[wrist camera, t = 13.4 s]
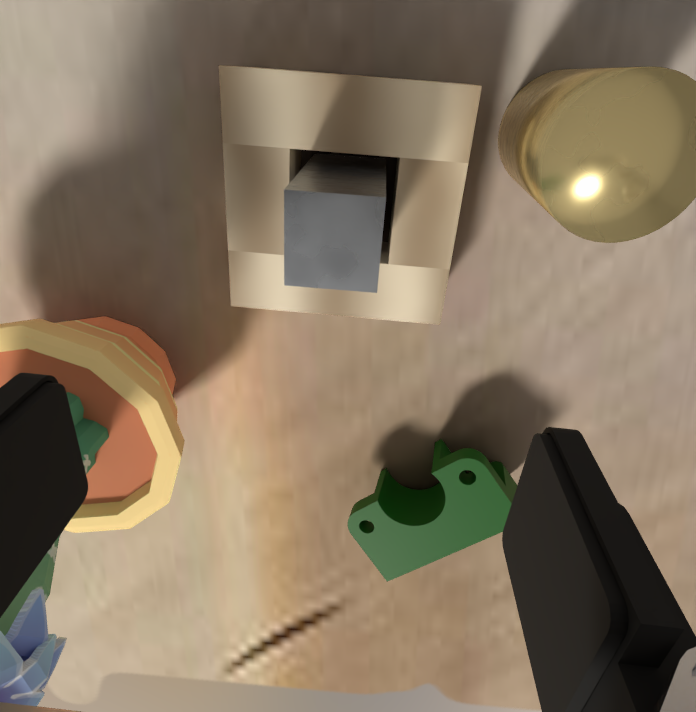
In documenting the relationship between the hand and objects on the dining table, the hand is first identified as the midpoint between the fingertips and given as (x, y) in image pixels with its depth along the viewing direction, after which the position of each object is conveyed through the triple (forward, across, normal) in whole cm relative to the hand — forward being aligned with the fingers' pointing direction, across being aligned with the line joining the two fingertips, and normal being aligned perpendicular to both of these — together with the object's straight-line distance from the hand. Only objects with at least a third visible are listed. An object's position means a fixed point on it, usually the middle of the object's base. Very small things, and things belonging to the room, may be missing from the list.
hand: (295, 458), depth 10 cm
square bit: (+22, +1, -1) cm, 22 cm away
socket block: (+22, +1, -1) cm, 22 cm away
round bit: (+22, -10, -5) cm, 25 cm away
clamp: (+23, -7, +20) cm, 31 cm away
